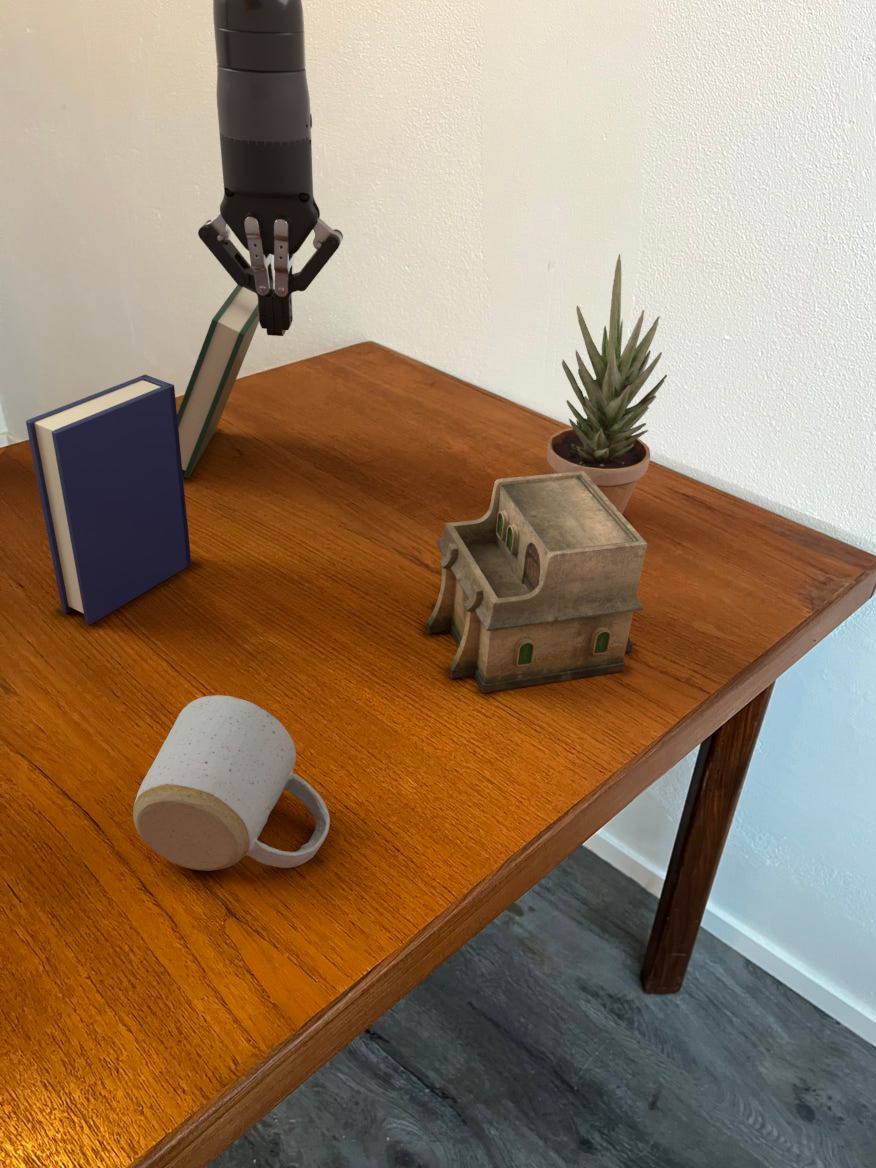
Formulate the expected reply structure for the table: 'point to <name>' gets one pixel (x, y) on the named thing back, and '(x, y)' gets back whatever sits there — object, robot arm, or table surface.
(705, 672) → the table surface
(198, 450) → the green book
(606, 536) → the miniature house
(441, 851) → the table surface
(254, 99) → the robot arm
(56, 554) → the navy book
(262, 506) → the table surface
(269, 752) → the ceramic mug
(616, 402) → the potted plant
